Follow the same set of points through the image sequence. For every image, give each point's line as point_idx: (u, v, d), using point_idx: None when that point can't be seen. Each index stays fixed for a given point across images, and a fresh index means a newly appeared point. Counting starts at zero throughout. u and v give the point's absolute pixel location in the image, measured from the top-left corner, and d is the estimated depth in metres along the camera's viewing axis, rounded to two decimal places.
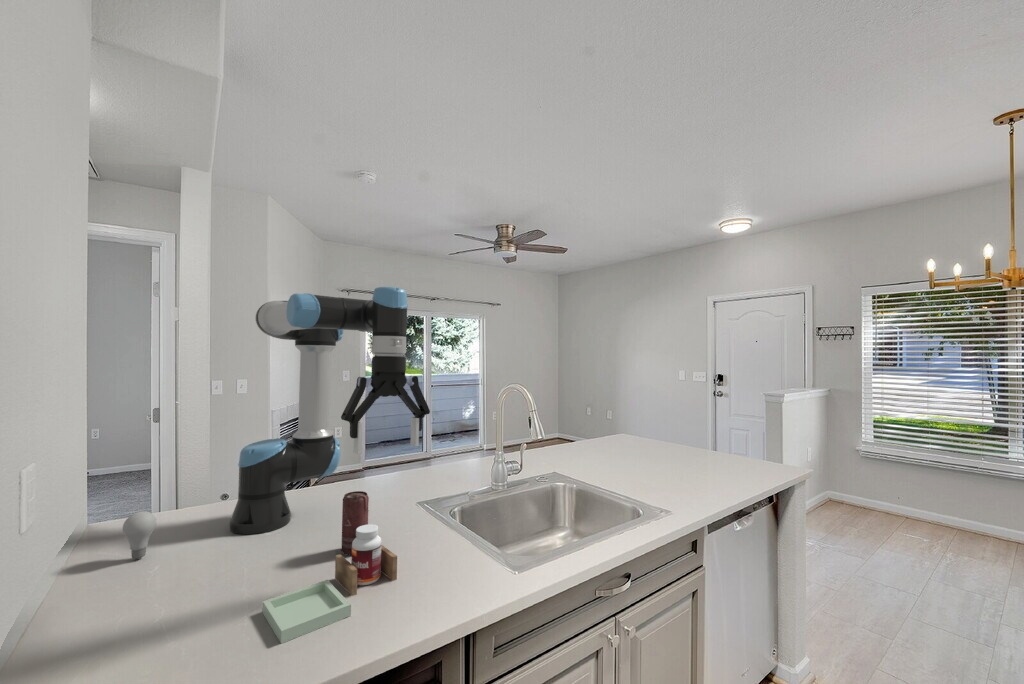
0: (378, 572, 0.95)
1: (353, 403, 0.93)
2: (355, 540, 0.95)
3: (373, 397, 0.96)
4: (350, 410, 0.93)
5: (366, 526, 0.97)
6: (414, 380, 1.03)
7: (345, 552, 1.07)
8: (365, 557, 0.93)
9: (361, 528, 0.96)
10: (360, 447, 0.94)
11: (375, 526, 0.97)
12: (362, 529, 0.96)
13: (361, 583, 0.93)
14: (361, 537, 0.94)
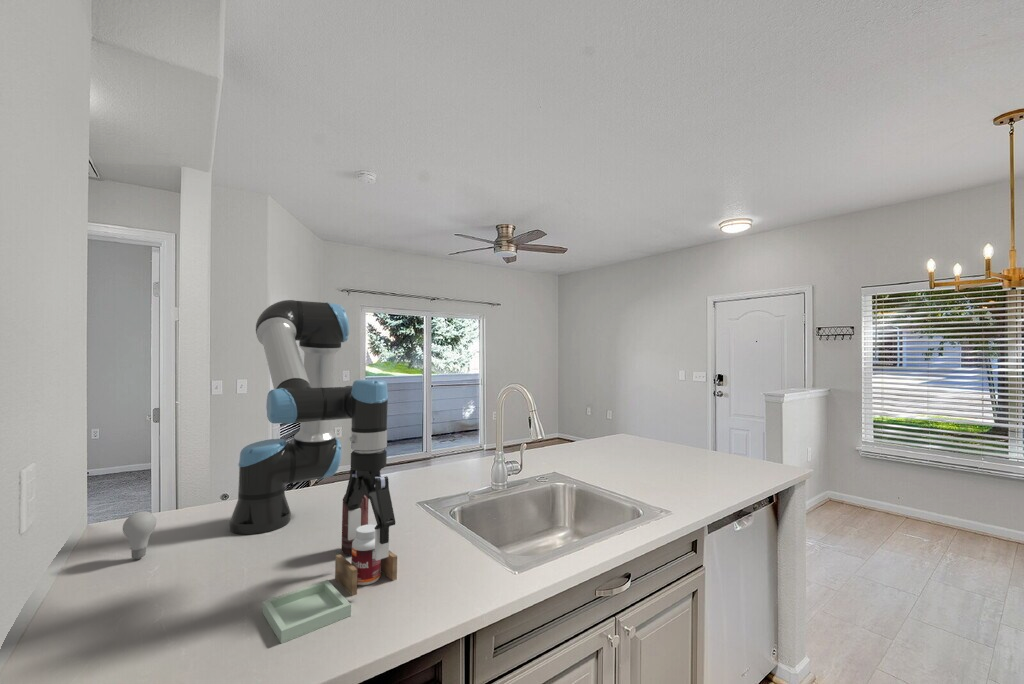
0: (378, 572, 0.95)
1: (347, 490, 1.02)
2: (355, 540, 0.95)
3: (355, 489, 0.98)
4: (345, 495, 1.02)
5: (366, 526, 0.97)
6: (375, 483, 0.91)
7: (345, 552, 1.07)
8: (365, 557, 0.93)
9: (361, 528, 0.96)
10: (348, 534, 1.00)
11: (375, 526, 0.97)
12: (362, 529, 0.96)
13: (361, 583, 0.93)
14: (361, 537, 0.94)
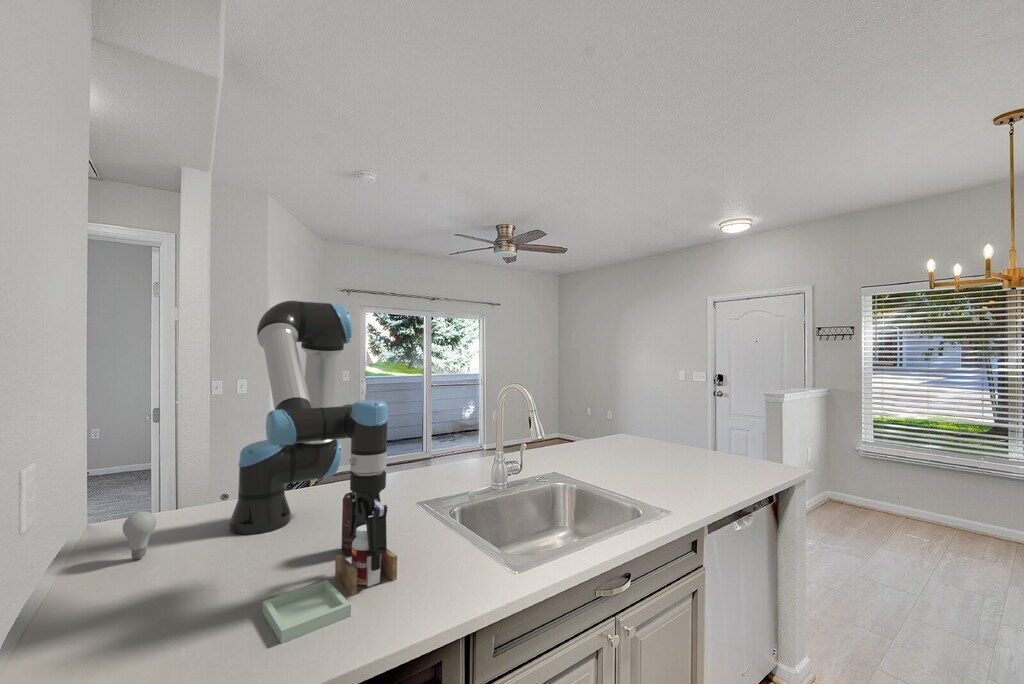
0: None
1: (350, 519, 1.00)
2: (355, 540, 0.95)
3: None
4: (349, 526, 1.00)
5: None
6: (374, 511, 0.91)
7: (345, 552, 1.07)
8: (365, 557, 0.93)
9: (361, 528, 0.96)
10: None
11: None
12: (361, 529, 0.96)
13: (361, 583, 0.93)
14: (361, 537, 0.94)
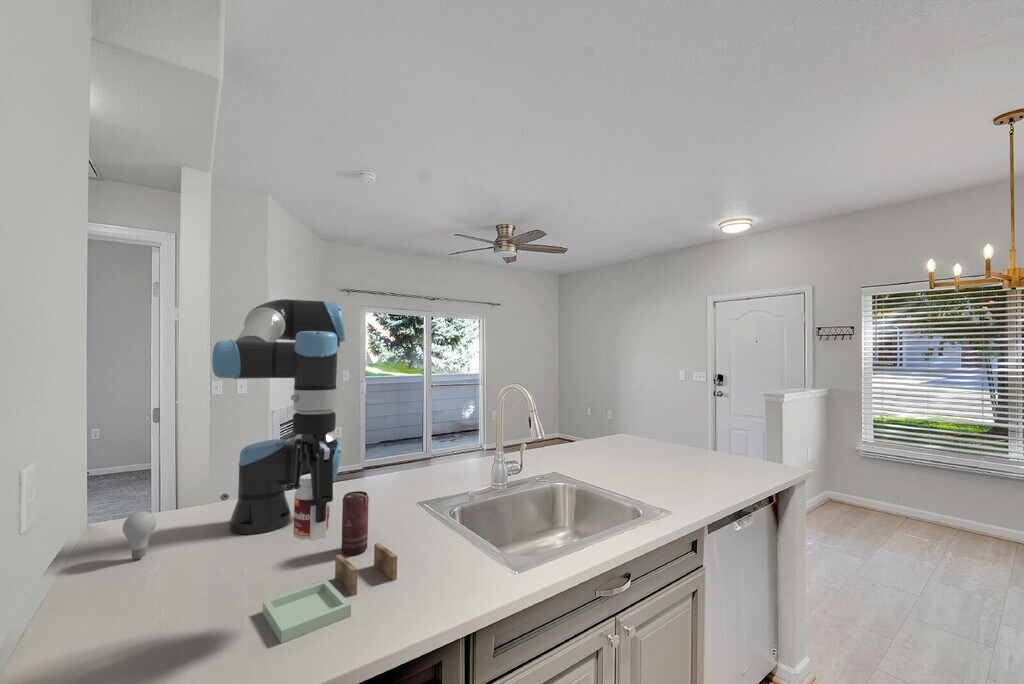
0: None
1: (295, 468, 0.88)
2: (298, 489, 0.83)
3: (301, 462, 0.85)
4: (295, 476, 0.88)
5: None
6: (318, 453, 0.79)
7: (345, 552, 1.07)
8: (309, 507, 0.81)
9: (306, 476, 0.84)
10: None
11: None
12: (306, 476, 0.83)
13: (304, 537, 0.81)
14: (305, 484, 0.82)
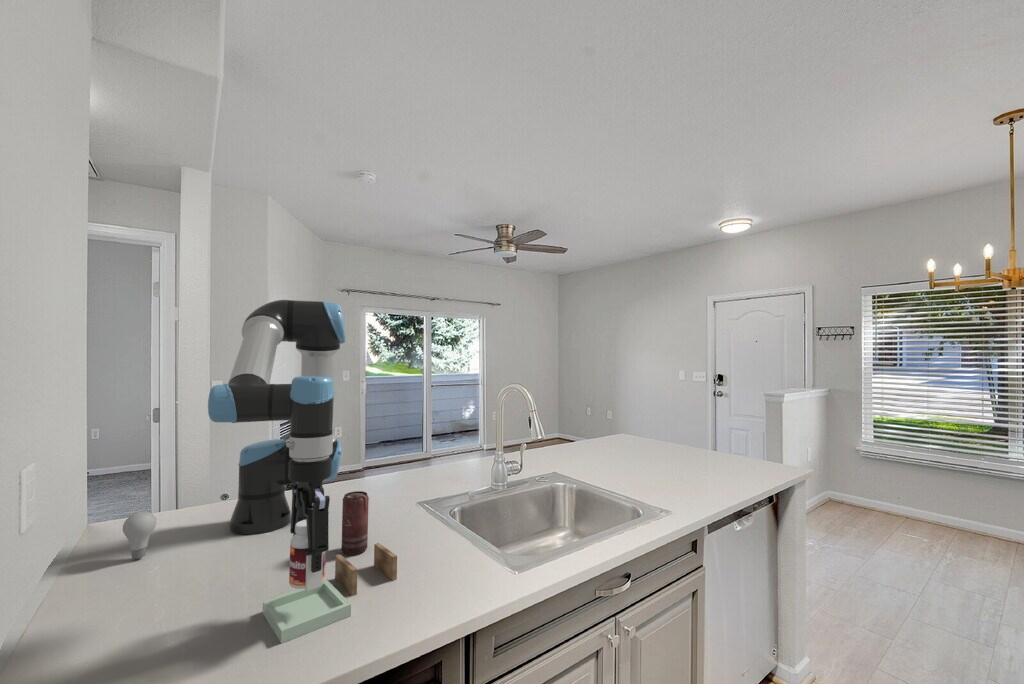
0: None
1: (291, 513, 0.87)
2: (294, 536, 0.82)
3: None
4: (291, 521, 0.87)
5: None
6: (313, 502, 0.78)
7: (345, 552, 1.07)
8: (305, 556, 0.80)
9: (302, 522, 0.83)
10: None
11: None
12: (302, 523, 0.83)
13: (299, 586, 0.80)
14: (300, 533, 0.81)
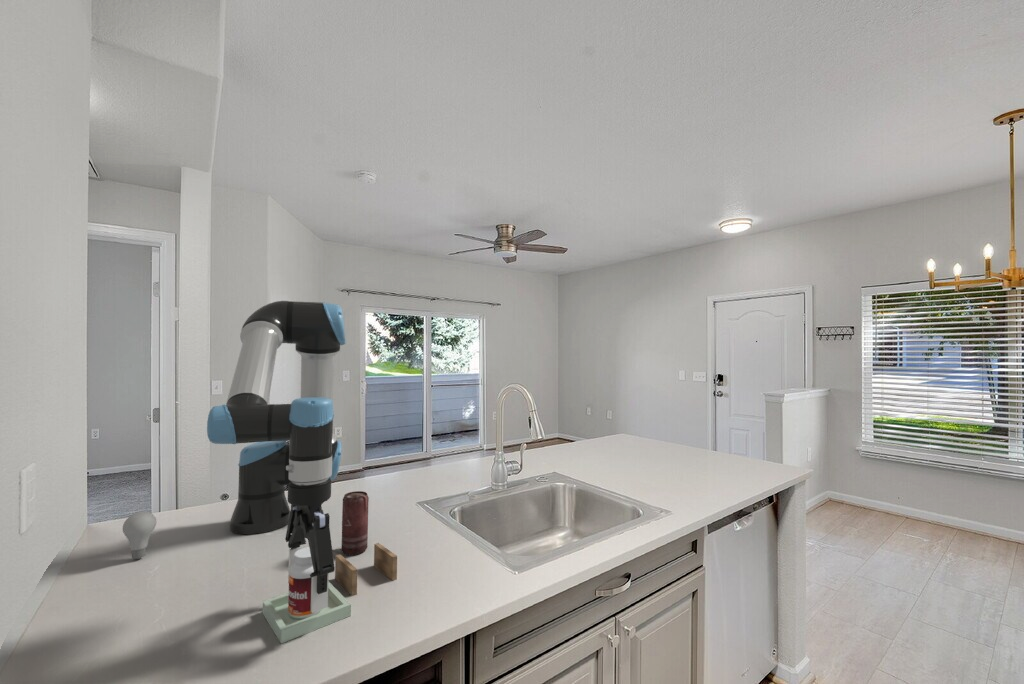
0: None
1: (288, 524, 0.88)
2: (293, 566, 0.82)
3: None
4: (287, 531, 0.89)
5: (307, 549, 0.84)
6: (313, 521, 0.78)
7: (345, 552, 1.07)
8: (304, 586, 0.80)
9: (301, 551, 0.83)
10: None
11: None
12: (301, 553, 0.83)
13: (298, 616, 0.80)
14: (299, 563, 0.81)
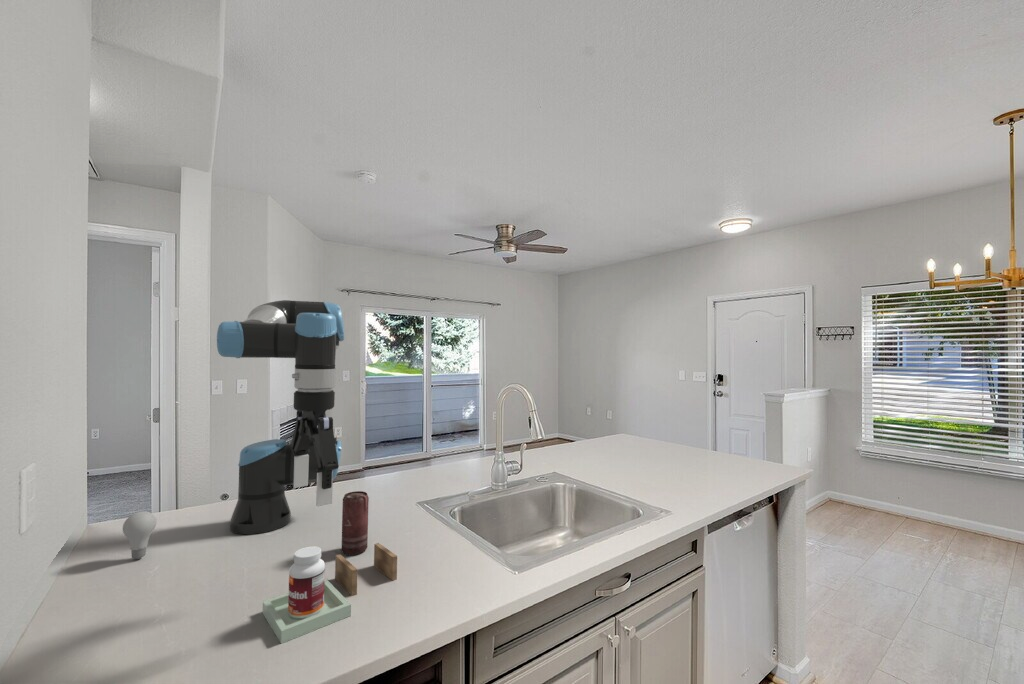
0: (320, 603, 0.82)
1: (293, 434, 0.94)
2: (293, 566, 0.82)
3: None
4: (292, 440, 0.94)
5: (307, 549, 0.84)
6: (318, 423, 0.83)
7: (345, 552, 1.07)
8: (303, 586, 0.80)
9: (300, 551, 0.83)
10: (294, 481, 0.92)
11: (318, 549, 0.84)
12: (301, 553, 0.83)
13: (298, 616, 0.80)
14: (299, 562, 0.81)
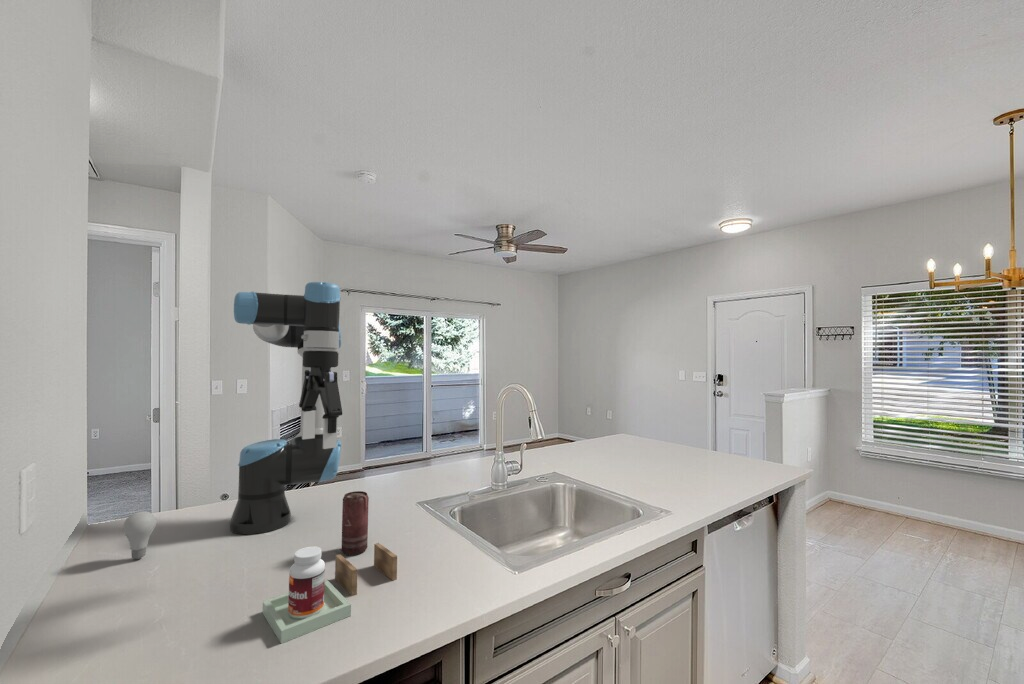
0: (320, 603, 0.82)
1: (302, 392, 1.06)
2: (293, 566, 0.82)
3: (308, 389, 1.02)
4: (301, 398, 1.06)
5: (307, 549, 0.84)
6: (324, 376, 0.95)
7: (345, 552, 1.07)
8: (303, 586, 0.80)
9: (301, 551, 0.83)
10: (302, 433, 1.04)
11: (318, 549, 0.84)
12: (301, 553, 0.83)
13: (298, 616, 0.80)
14: (299, 562, 0.81)
